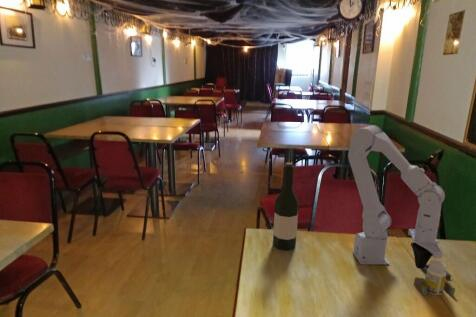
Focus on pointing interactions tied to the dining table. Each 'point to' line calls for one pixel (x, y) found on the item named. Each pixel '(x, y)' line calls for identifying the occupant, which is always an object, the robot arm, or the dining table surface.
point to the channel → (423, 288)
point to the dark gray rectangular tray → (445, 271)
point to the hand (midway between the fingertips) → (419, 267)
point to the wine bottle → (286, 213)
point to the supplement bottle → (435, 277)
